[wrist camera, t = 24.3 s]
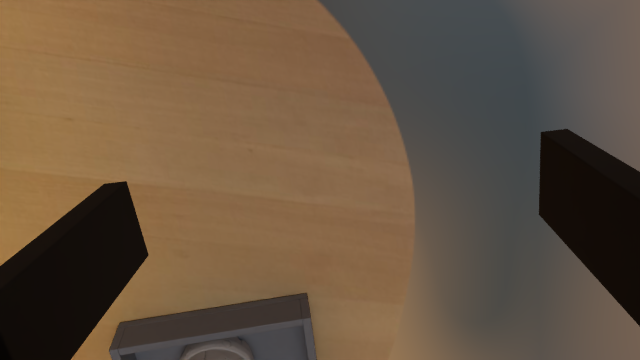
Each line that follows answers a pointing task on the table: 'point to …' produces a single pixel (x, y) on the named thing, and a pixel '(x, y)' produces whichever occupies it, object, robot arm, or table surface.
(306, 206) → the table surface
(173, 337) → the tray
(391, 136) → the table surface
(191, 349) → the mug
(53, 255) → the robot arm
